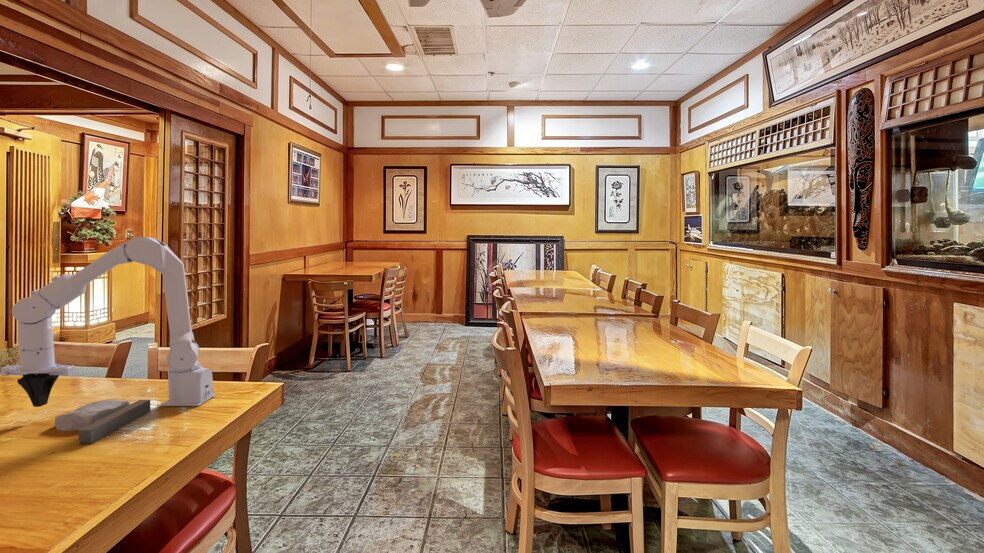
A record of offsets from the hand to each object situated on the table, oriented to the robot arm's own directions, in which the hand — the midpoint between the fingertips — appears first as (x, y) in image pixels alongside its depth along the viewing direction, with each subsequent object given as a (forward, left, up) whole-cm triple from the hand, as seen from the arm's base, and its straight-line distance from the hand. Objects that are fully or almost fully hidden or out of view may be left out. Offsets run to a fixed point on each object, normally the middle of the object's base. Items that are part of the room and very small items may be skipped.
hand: (40, 405), depth 106 cm
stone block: (-11, 0, -4) cm, 12 cm away
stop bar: (-20, +4, -4) cm, 21 cm away
